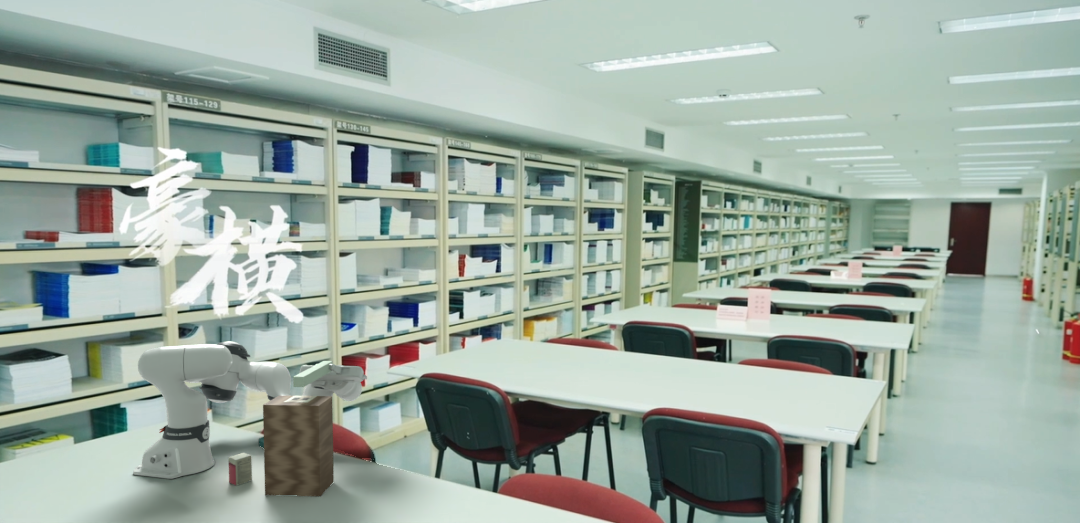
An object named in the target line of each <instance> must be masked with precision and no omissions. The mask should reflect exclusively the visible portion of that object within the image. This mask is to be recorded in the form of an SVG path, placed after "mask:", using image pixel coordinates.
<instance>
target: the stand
mask: <svg viewBox="0 0 1080 523" xmlns="http://www.w3.org/2000/svg"><path fill="white" fill-rule="evenodd" d="M333 413H334V412H333V396H302V395H290V396H281V395H279V396H278V397H276V398H274V399H272V400H271V401H270V400H269V401H267V402H266V403H264V404H263V405H262V415H263V418H262V419H263V426H262V427H263V437H264V449H263V458H264V459H263V462H264V463H263V464H264V466H263V467H264V468H263V469H264V495H265V496H276V495H297V496H296V497H319V496H320V497H322V496H323V495H324V494H325V493H326V491H327V490H328V489H329V488H330V487H331V486H332V485H333V484H334V483H333V482H335V480H334V478H335V477H334V471H335V470H334V432H333V431H334V430H333V429H334V426H333V423H334V421H333V419H334V418H333V417H334V416H333ZM332 483H333V484H332ZM331 484H332V485H331ZM330 485H331V486H330Z"/></svg>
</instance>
